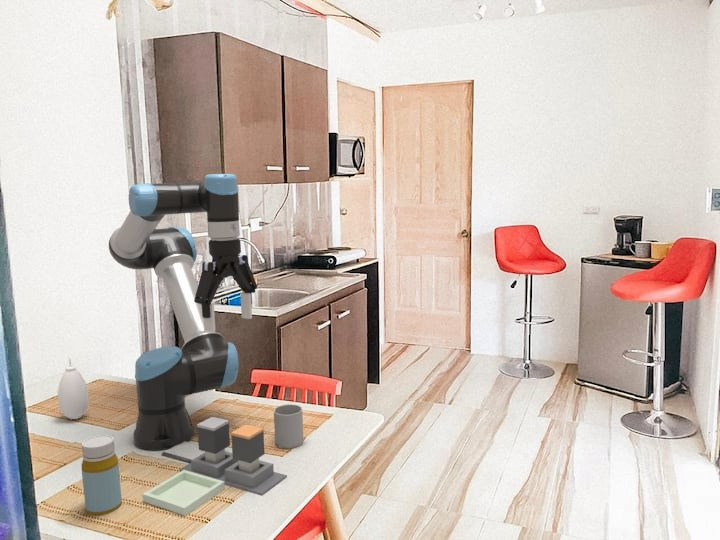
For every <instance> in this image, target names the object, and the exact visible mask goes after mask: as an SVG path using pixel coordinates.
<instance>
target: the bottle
mask: <svg viewBox="0 0 720 540" xmlns="http://www.w3.org/2000/svg"><path fill="white" fill-rule="evenodd" d="M115 448H116V445H115V438H114V437H113V435H109V434H98V435H94V436H90V437H88V438H86V439H84V440H82V442H81V453H82V462H81V476H82V477H81V478H82V487H83V497H84V498H83V499H84V507H85V512H86V513H87V514H89V515H91V516H92V515H93V516H103V515H107V514H110V513H113V512H114V511H116V510H118V509H119V508H120V507H121V506H122V502H123V501H122V500H123V499H122V489H121V479H120V466H119V458H118V456H117V454H116V449H115Z"/></svg>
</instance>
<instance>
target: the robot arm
mask: <svg viewBox="0 0 720 540" xmlns="http://www.w3.org/2000/svg"><path fill="white" fill-rule="evenodd" d="M237 178H238V177H237V176H236V174H233V173H217V174H215V173H212V174H211V173H209V174H207V175H205V176H204V180H203V181H195V182H194V181H192V182H169V183H167V182H165V183H164V182H162V183H160V182H159V183H157V182H156V183H149V182H145V183H140V184H138V183H137V184H133V185H132V186H130V188H129V191H128V193H129V194H128V205H129V206H128V207H129V209H130V211H129V213H128V215H126V217H125V219H124V221H123V223H122V225H121V226H120V227H119V228H117V229H115V230H114V231H113V232H112V234H111V236H110V237H109V241H108V251H109V253H110V255H111V257H112V258H113V260H115V262H117V263H118V264H119V265H120V266H123V267H125V268H127V269H132V270H149V269H153V271H154V273H155V275H156V276H157V277H158V278H159V279H162V280H163V283H164V286H165V288H166V289H165V290H166V292H167V295H168V297H169V301H170V303H171V307H172V310H173V313H174V315H175V318H176V321H177V324H178V327H179V329H180V332H181V333H180V334H181V336H182V339H183V342H184V343H183V345H182V347H181V348H180V347H178V346H164V347H159V348H154V349H152V350H151V349H150V350H148V351H146V352H145V353H143V354H141V355H140V356H139V357H138V358H137V359H136V361H135V363H134V366H135V367H134V369H135V370H134V371H135V373H134V374H135V375H134V379H135V382H136V383H135V384H136V385H135V386H136V397H137V407H138V415H137V420H136V424H135V429H134V430H133V437H132V438H133V443H134V445H135V447H137V448H139V449H141V450H147V451H159V450H160V451H162V450H168V449H173V448H174V447H176V446H179V445H181V444H183V443H185V442H186V443H188V442H190V441H191V440H192V439H193V437H194V435H195V431H194V429H195V428H194V424H193V422H192V420H191V417H190V414H189V413H188V410H187V407H186V401H185V399H186V398H185V397H186V396H189V395H194V394H198V393H203V392H207V391H212V390H219V389H222V388H224V387H227V386H231V385H233V384H234V383H235V381H236V380H237V377H238V373H239V356H238V355H239V354H238V351H237V350H238V349H237V348H236V345H235V344H233V342H230V341H227V342H226V341H225V339H224V338H223V337H224V336H222V334H221V333H219V332H217V331H216V318H215V304H214V303H212V302H213V301H214V298H215V295H216V294H217V292H218V289H219V286H220V284H221V282H222V281H224V279H225V278H226V279H227V278H229V277H232V278H233V280H234V281H235V282H236V284H237V285H238V286H239V288H240V290H241V291H242V292H240V306H241V307H240V308H241V311H240V312H241V319H246V320H247V319H248V320H251V319H253V315H252V313H253V312H252V304H253V298H252V297H253V296H252V295H253V294H254V293H256V289H257V288H258V283H257V282H256V279H255V276H254V275H253V272H252V269H251V266H250V264H249V259H248V258H249V257H248V255H246V254H242V253H241V252H242V247H241V245H242V244H241V239H240V238H239V237H240V236H241V234H240V233H241V232H240V231H241V230H240V217H239V216H240V211H239V187H238V181H237V180H238V179H237ZM195 213H196V214H197V213H206V216H207V217H206V221H207V222H206V223H207V237H208V239H209V240H208V254H209V255H210V256H211V258H212V259H211V261H202V263H201V274H200V278H199V281H198V283H197V280H196V278H195V276H194V273H193V270H192V269H193V268H194V265H195V262H196V261H197V257H198V255H197V254H198V253H197V252H198V251H197V248H196V241H195V238H194V236H193V235H192V233H191V232H190V231H189V230H188V229H187V228H185V227H173V226H171V227H168V228H157V227H158V226H159V224H160V222H161V221H162V220H163V218H164V217H165V216H166V215H178V214H181V215H182V214H195Z"/></svg>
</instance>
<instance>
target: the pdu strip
mask: <svg viewBox="0 0 720 540" xmlns="http://www.w3.org/2000/svg"><path fill="white" fill-rule="evenodd" d="M196 427H197V430H196V431H197V438H198V439H197V445H198V450H199V451H201V452H202V451H203V453H202V454H199V455H198V456H196V457H195V458H193V459H191V458H187V457H184V456H180V455H176V454H172V453H169V452H167V451H162V452H161V457H165V458H168V459H172V460H176V461H179V462H183V463H187V464H186V465H185V466H183V467H181V468H179V472H181V471H183V470H187V471H190V472H193V473H197V474H200V475H204V476H207V477H211V478H214V479H217V480H221V481H224V482H225V486H228V487H230V488H231V487H232V488H235V489H239V490H242V491H246V492H249V493H252V494H256V495H259V496H263V495H265V494H266V493H268V492H269V491H270V490H272V489H273V488H274V487H276V486H277V485H279V484H280V483H281V482H283V481H284V480H285V479H286V478H287V477H288V475H287V474H283V473H280V472H276V471H274V463H272V462H267V461H265V460H260V459H259V466H260V469H258V470H257V471H256V472H254V473H253V474H251V473H247V472H244V471H240V470H239V460H236V459H233V455H232V452H230V451H226V448H228V447H230V446H231V439H230V421H229V420H228V419H224V418H220V417H215V416H211V417H209V418H207V419H205V420H203V421H201V422H199V423H197V424H196Z"/></svg>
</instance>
